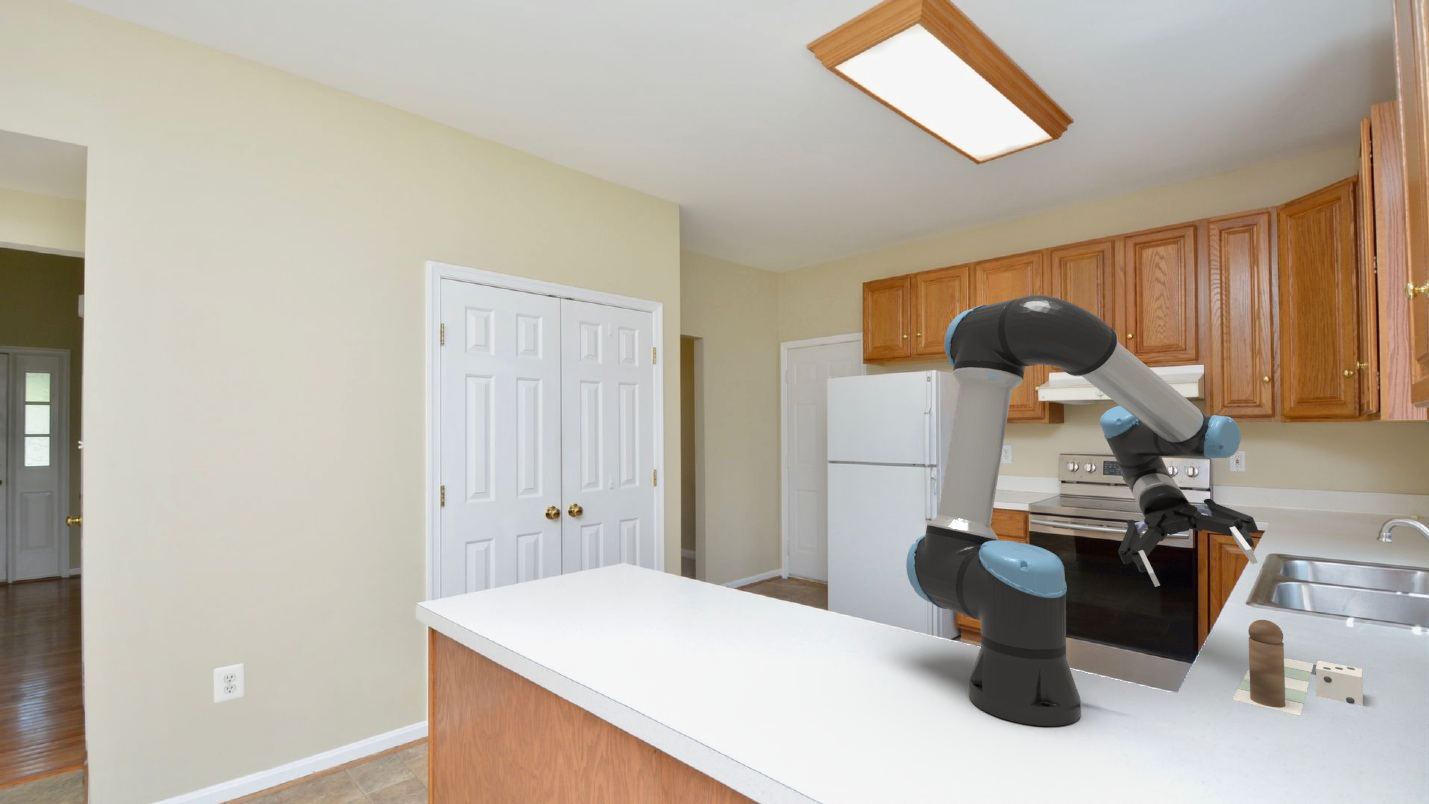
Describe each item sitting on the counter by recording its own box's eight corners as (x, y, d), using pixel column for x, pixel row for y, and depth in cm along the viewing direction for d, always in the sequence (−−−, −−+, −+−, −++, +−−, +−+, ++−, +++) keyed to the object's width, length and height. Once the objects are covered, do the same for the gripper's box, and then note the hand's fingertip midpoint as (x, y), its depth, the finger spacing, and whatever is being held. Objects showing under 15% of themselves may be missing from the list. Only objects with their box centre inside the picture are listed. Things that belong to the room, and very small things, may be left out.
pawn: (1248, 701, 97) (1246, 620, 98) (1252, 693, 100) (1249, 614, 101) (1284, 709, 94) (1281, 625, 95) (1286, 701, 97) (1284, 620, 98)
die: (1316, 701, 100) (1315, 668, 100) (1318, 692, 103) (1317, 659, 103) (1362, 711, 96) (1361, 676, 96) (1363, 702, 100) (1362, 668, 100)
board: (1228, 704, 98) (1228, 699, 98) (1254, 656, 119) (1254, 651, 119) (1304, 722, 92) (1303, 717, 92) (1317, 668, 113) (1316, 663, 113)
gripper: (1246, 496, 118) (1304, 565, 99) (1098, 537, 129) (1125, 606, 110) (1231, 462, 117) (1287, 525, 98) (1083, 506, 128) (1108, 570, 109)
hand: (1201, 568), depth 104 cm, fingers open, 13 cm apart
